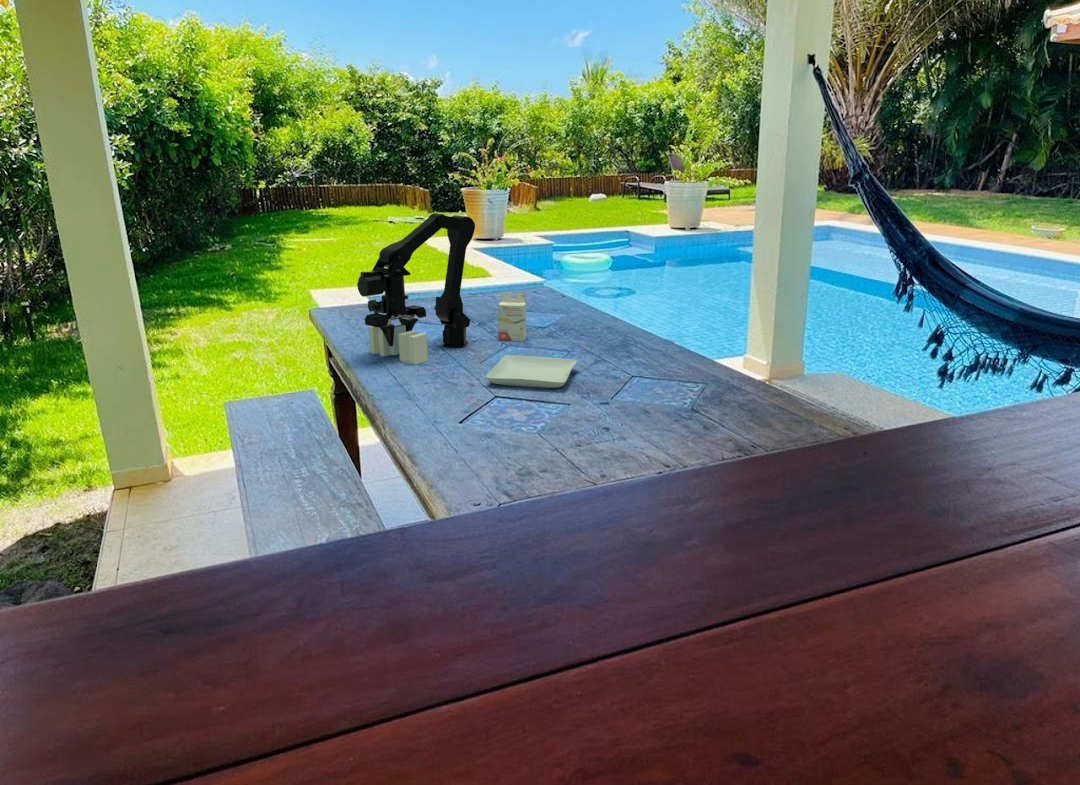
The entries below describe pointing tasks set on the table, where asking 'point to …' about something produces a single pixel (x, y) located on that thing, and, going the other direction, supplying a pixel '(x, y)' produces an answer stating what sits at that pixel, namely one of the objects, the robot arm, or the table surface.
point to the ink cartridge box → (512, 317)
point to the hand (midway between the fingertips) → (397, 344)
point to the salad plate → (531, 371)
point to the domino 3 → (396, 339)
